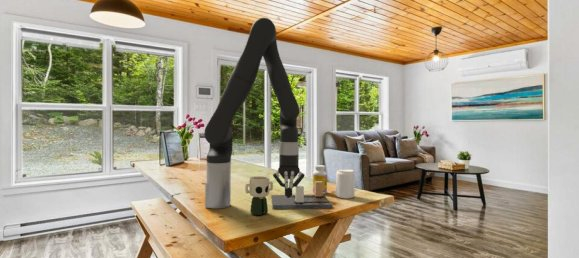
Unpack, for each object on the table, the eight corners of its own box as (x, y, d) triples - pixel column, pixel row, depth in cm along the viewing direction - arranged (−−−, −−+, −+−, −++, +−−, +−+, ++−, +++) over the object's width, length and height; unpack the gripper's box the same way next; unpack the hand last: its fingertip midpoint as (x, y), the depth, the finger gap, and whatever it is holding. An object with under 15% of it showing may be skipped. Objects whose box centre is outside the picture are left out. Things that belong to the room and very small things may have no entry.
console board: (272, 209, 115) (272, 204, 115) (271, 198, 131) (271, 194, 131) (332, 208, 117) (332, 204, 117) (323, 197, 133) (323, 194, 133)
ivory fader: (296, 202, 118) (296, 187, 118) (295, 200, 120) (295, 185, 120) (303, 202, 118) (303, 186, 118) (302, 200, 121) (303, 185, 121)
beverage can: (357, 196, 137) (357, 170, 136) (350, 200, 130) (350, 172, 129) (340, 193, 141) (340, 168, 141) (333, 197, 134) (333, 170, 134)
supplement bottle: (326, 195, 138) (326, 167, 138) (311, 194, 140) (312, 166, 139) (327, 191, 145) (327, 165, 145) (313, 190, 146) (314, 164, 146)
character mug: (249, 218, 103) (249, 180, 103) (241, 213, 109) (241, 177, 109) (277, 214, 109) (277, 178, 109) (267, 209, 115) (268, 175, 115)
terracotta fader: (315, 196, 128) (315, 182, 128) (314, 194, 130) (314, 181, 130) (322, 196, 128) (322, 182, 128) (321, 194, 131) (321, 181, 130)
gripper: (272, 154, 114) (271, 200, 115) (307, 154, 115) (306, 199, 116) (271, 152, 122) (271, 195, 122) (304, 152, 123) (303, 194, 123)
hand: (288, 197), depth 119 cm, fingers closed
